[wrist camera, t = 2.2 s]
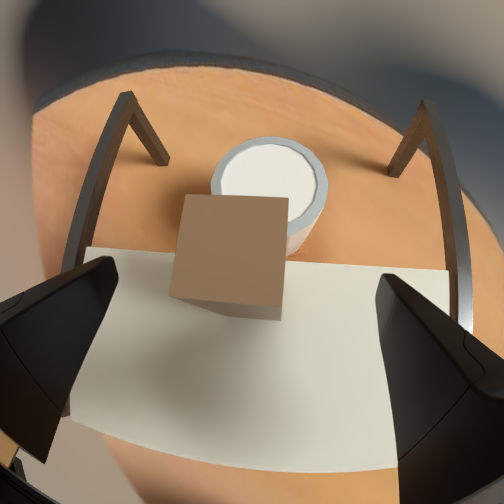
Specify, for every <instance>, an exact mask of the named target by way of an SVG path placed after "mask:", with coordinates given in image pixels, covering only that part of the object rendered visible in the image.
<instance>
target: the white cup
mask: <svg viewBox="0 0 504 504" xmlns="http://www.w3.org/2000/svg"><path fill="white" fill-rule="evenodd" d="M328 187H329V185H328V181H327V177H326V173H325V169H324V166H323V165H322V163H321V162H320V161H319V160H318V158H317V157H316V156H315V155H314V153H313V152H312V151H311V150H310V149H308V148H306V147H304V146H303V145H301V144H299V143H297V142H296V141H294V140H291V139H285V138H280V137H274V136H268V137H261V138H254V139H250V140H248V141H246V142H244V143H241V144H239V145H237V146H236V147H234V148H232V149H231V150H230V151H229V152H228V153H227V154H226V155H225V156H224V157H223V158H222V159H221V160H220V161H219V162H218V164H217V167H216V169H215V172H214V174H213V177H212V180H211V195H241V196H265V197H284V198H289V207H288V228H287V247H286V257H287V256H289V255H291V254H293V253H294V252H296V251H298V249H299V248H300V247H301V245H302V244H303V243H304V241H305V240H306V238H307V236H308V235H309V233H310V231H311V229H312V228H313V226H314V224H315V222H316V221H317V219H318V217H319V215H320V214H321V212H322V210H323V208H324V206H325V202H326V197H327V192H328Z"/></svg>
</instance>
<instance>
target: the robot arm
mask: <svg viewBox="0 0 504 504" xmlns="http://www.w3.org/2000/svg"><path fill="white" fill-rule="evenodd" d="M118 281H119V275H118V271H117V268H116V264H115V261H114V258H113V257H112V256H100V257H98V258H95V259H93V260H91V261H89V262H86V263H84V264H82V265H80V266H77V267H75V268H73V269H71V270H68V271H66V272H64V273H62V274H60V275H57V276H55V277H53V278H51V279H49V280H47V281H45V282H43V283H40V284H38V285H36V286H34V287H32V288H30V289H28V290H26V291H25V292H22V293H20V294H18V295H16V296H13V297H12V298H9V299H7V300H5V301H3V302H1V303H0V504H60V503H59V502H57V501H55V500H53V499H52V498H50V497H49V496H47V495H45V494H44V493H42V492H41V491H39V490H38V489H36V488H35V487H33V486H32V485H30V484H29V483H28V482H27V481H26V477H25V474H24V470H23V466H22V462H21V460H20V459H18V458H17V457H16V454H17V452H18V450H19V448H21V449H22V450H23V451H25V452H26V453H28V454H29V455H31V456H32V457H34V458H35V459H37V460H38V461H40V462H42V463H43V464H45V462H46V460H47V457H48V453H49V450H50V447H51V444H52V441H53V438H54V435H55V433H56V430H57V427H58V424H59V421H60V418H61V416H62V413H63V410H64V407H65V405H66V402H67V400H68V397H69V395H70V392H71V390H72V387H73V385H74V382H75V380H76V378H77V375H78V373H79V371H80V368H81V366H82V364H83V361H84V359H85V357H86V355H87V353H88V350H89V348H90V346H91V344H92V342H93V340H94V338H95V335H96V333H97V331H98V329H99V327H100V325H101V323H102V321H103V319H104V317H105V314H106V312H107V310H108V307H109V304H110V302H111V299H112V297H113V294H114V292H115V289H116V287H117V284H118ZM375 305H376V313H377V323H378V333H379V341H380V347H381V352H382V357H383V362H384V367H385V372H386V378H387V384H388V390H389V396H390V402H391V409H392V416H393V424H394V432H395V441H396V451H397V461H398V478H399V498H400V504H504V359H502V358H501V357H500V356H498V355H497V354H496V353H494V352H493V351H492V350H490V349H489V348H488V347H487V346H485V345H484V344H483V343H482V342H480V341H479V340H478V339H477V338H475V337H474V336H473V335H472V334H471V333H469V332H468V331H467V330H465V329H464V328H463V327H462V326H461V325H460V324H458V323H457V322H456V321H455V320H454V319H452V318H451V317H450V316H449V315H447V314H446V313H445V312H444V311H442V310H441V309H440V308H439V307H437V306H436V305H435V304H433V303H432V302H431V301H430V300H428V299H427V298H426V297H424V296H423V295H422V294H421V293H419V292H418V291H417V290H415V289H414V288H413V287H411V286H410V285H409V284H407V283H406V282H405V281H403V280H402V279H401V278H399V277H398V276H397V275H395V274H393V273H383V274H382V275H381V277H380V280H379V284H378V287H377V291H376V295H375Z"/></svg>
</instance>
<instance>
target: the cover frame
mask: <svg viewBox="0 0 504 504" xmlns="http://www.w3.org/2000/svg"><path fill="white" fill-rule="evenodd" d="M128 123H129V125H130V126H131V128H132V129H133V130H134V132H135V133H136V135H137V136H138V138H139V139H140V141H141V142H142V144H143V145H144V146H145V148H146V149H147V151H148V152H149V154H150V155H151V157H152V158H153V159H154V161H155V162H156V164H157V165H158V166H168V163H169V159H170V156H169V154H168V153H167V151H166V149H165V148H164V146H163V144H162V143H161V141H160V139H159V138H158V136H157V134H156V133H155V131H154V129H153V128H152V126H151V124H150V123H149V121H148V119H147V118H146V116H145V114H144V112H143V111H142V109H141V107H140V106H139V104H138V101H137V99H136V97H135V95H134V94H133V92H132V91H127V92H122V93H120V95H119V97H118V99H117V101H116V103H115V105H114V107H113V109H112V111H111V114H110V116H109V118H108V120H107V123H106V125H105V127H104V130H103V132H102V134H101V137H100V139H99V142H98V144H97V147H96V149H95V152H94V155H93V157H92V160H91V163H90V165H89V168H88V171H87V174H86V177H85V180H84V183H83V186H82V189H81V192H80V196H79V199H78V202H77V206H76V209H75V213H74V216H73V220H72V224H71V228H70V232H69V236H68V240H67V244H66V249H65V253H64V258H63V263H62V268H61V273H60V274H62V273H64V272H66V271H68V270H71V269H73V268H75V267H77V266H80V265H82V264H83V262H84V257H85V252H86V247H91V244H92V240H93V235H94V231H95V227H96V223H97V219H98V215H99V211H100V207H101V204H102V200H103V197H104V193H105V190H106V186H107V183H108V180H109V177H110V174H111V170H112V167H113V164H114V161H115V158H116V156H117V153H118V150H119V147H120V144H121V142H122V139H123V136H124V134H125V131H126V128H127V126H128ZM424 137H425V138H426V142H427V146H428V150H429V155H430V159H431V163H432V168H433V173H434V178H435V183H436V188H437V194H438V200H439V206H440V213H441V221H442V229H443V238H444V249H445V262H446V271H449V316H450V317H451V318H452V319H454V320H455V321H456V322H457V323H458V324H460V325H461V326H462V327H463V328H464V329H465V330H467V331H468V332H469V333H471V334H472V329H473V290H472V270H471V258H470V247H469V239H468V231H467V224H466V217H465V211H464V205H463V200H462V195H461V190H460V185H459V181H458V176H457V172H456V168H455V164H454V160H453V156H452V153H451V149H450V146H449V142H448V139H447V135H446V132H445V129H444V126H443V123H442V120H441V117H440V114H439V111H438V109H437V106H436V103H435V101H431V100H427V99H423V98H422V100H421V102H420V105H419V106H418V108H417V112H416V114H415V116H414V118H413V120H412V122H411V124H410V126H409V128H408V130H407V132H406V134H405V135H404V137H403V139H402V141H401V143H400V145H399V147H398V149H397V150H396V152H395V154H394V156H393V158H392V160H391V161H390V163H389V165H388V167H387V168H388V175H389V176H390V177H397V178H399V176H400V175H401V173H402V172H403V170H404V169H405V167H406V166H407V164H408V163H409V161H410V160H411V158H412V156H413V155H414V153H415V152H416V150H417V149H418V147H419V145H420V144H421V142H422V140H423V139H424ZM66 416H70V395H69V397H68V400H67V402H66V405H65V407H64V410H63V413H62V416H61V417H66Z"/></svg>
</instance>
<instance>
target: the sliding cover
mask: <svg viewBox="0 0 504 504" xmlns="http://www.w3.org/2000/svg"><path fill="white" fill-rule="evenodd" d="M288 207H289V198H284V197H265V196H241V195H205V194H186V195H185V200H184V205H183V211H182V216H181V221H180V227H179V233H178V239H177V245H176V251H175V253H166V252H153V251H139V250H126V249H112V248H99V247H86V252H85V257H84V262H83V264H84V263H86V262H89V261H91V260H93V259H95V258H98V257H100V256H112V257H113V258H114V261H115V264H116V268H117V271H118V275H119V281H118V284H117V287H116V289H115V292H114V294H113V297H112V299H111V302H110V304H109V307H108V310H107V312H106V314H105V317H104V319H103V321H102V323H101V325H100V327H99V329H98V331H97V333H96V335H95V338H94V340H93V342H92V344H91V346H90V348H89V350H88V353H87V355H86V357H85V359H84V361H83V364H82V366H81V368H80V371H79V373H78V375H77V378H76V380H75V382H74V385H73V387H72V390H71V392H70V419H71V420H74V421H76V422H78V423H80V424H83V425H85V426H87V427H90V428H92V429H95V430H97V431H99V432H102V433H105V434H107V435H110V436H113V437H115V438H118V439H121V440H124V441H127V442H130V443H133V444H136V445H139V446H142V447H146V448H149V449H152V450H156V451H159V452H163V453H167V454H171V455H175V456H179V457H183V458H188V459H192V460H197V461H202V462H207V463H212V464H218V465H224V466H231V467H238V468H246V469H255V470H265V471H278V472H298V473H336V472H355V471H368V470H378V469H387V468H394V467H398V461H397V451H396V441H395V432H394V424H393V416H392V409H391V402H390V396H389V390H388V384H387V378H386V372H385V367H384V362H383V357H382V352H381V347H380V341H379V333H378V323H377V313H376V305H375V295H376V291H377V287H378V284H379V280H380V277H381V275H382V274H383V273H393V274H395V275H397V276H398V277H399V278H401V279H402V280H403V281H405V282H406V283H407V284H409V285H410V286H411V287H413V288H414V289H415V290H417V291H418V292H419V293H421V294H422V295H423V296H424V297H426V298H427V299H428V300H430V301H431V302H432V303H433V304H435V305H436V306H437V307H439V308H440V309H441V310H442V311H444V312H445V313H446V314H447V315H449V271H446V270H428V269H411V268H394V267H377V266H361V265H345V264H329V263H313V262H297V261H286V247H287V228H288Z"/></svg>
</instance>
